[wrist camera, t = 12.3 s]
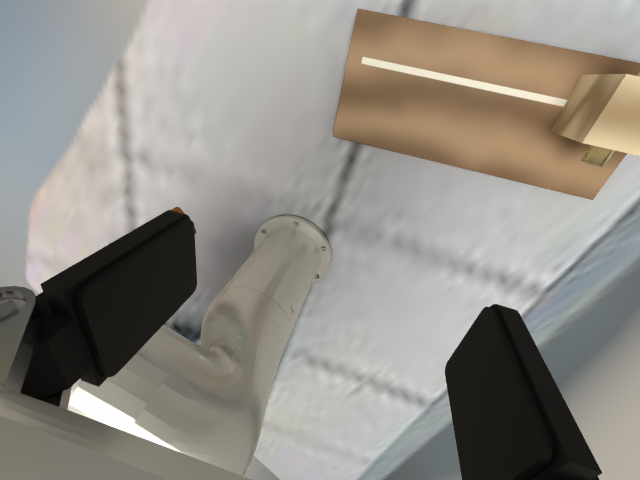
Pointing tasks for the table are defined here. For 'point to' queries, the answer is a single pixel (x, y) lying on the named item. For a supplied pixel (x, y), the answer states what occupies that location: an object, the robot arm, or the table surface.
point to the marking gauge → (603, 116)
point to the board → (469, 101)
